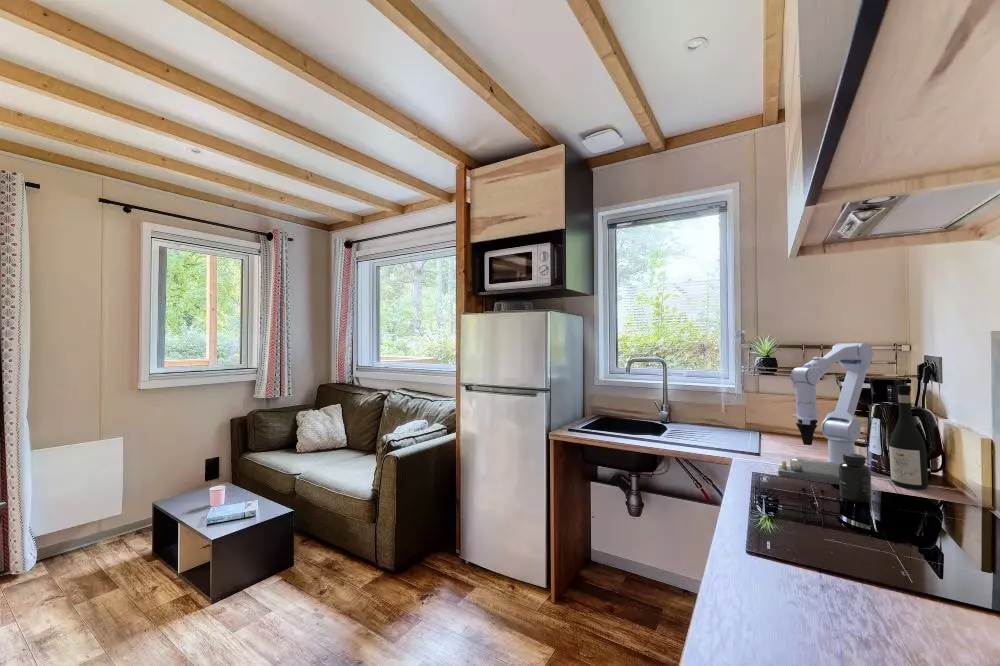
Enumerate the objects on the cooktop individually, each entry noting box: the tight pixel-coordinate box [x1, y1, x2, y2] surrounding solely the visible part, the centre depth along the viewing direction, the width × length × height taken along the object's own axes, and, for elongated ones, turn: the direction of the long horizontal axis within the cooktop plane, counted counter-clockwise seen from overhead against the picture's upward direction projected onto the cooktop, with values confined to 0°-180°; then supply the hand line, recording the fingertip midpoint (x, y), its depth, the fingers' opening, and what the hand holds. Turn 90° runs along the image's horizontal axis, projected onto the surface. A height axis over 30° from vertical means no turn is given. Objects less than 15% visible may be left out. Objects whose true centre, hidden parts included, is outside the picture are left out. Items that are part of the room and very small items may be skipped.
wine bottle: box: [888, 384, 929, 490], centre depth 127 cm, size 8×8×30 cm
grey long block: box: [789, 457, 841, 478], centre depth 136 cm, size 5×16×4 cm, turn 53°
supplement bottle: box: [838, 453, 873, 503], centre depth 118 cm, size 7×7×12 cm
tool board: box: [777, 460, 839, 484], centre depth 136 cm, size 7×22×4 cm, turn 52°
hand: (808, 442), depth 144 cm, fingers open, 7 cm apart
